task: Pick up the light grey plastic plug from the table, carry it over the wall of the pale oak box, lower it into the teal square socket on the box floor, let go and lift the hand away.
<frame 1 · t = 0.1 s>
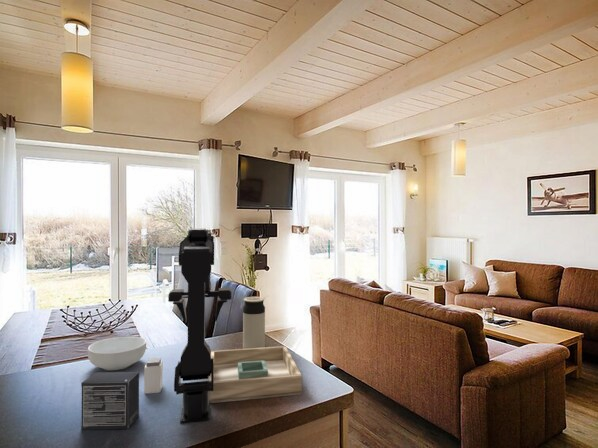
hand: (200, 322, 114), 15 cm above the kitchen counter, fingers open, 9 cm apart
small box: (111, 423, 83), on the kitchen counter
cereal bowl: (117, 366, 116), on the kitchen counter
travel mug: (253, 348, 133), on the kitchen counter
grey plug: (153, 389, 99), on the kitchen counter
walled box: (252, 379, 106), on the kitchen counter
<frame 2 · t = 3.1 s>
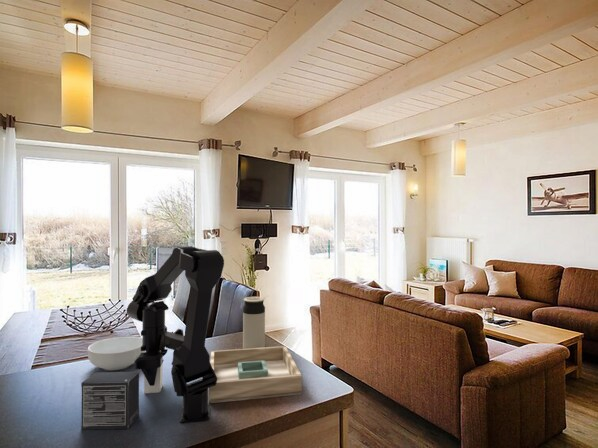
hand: (153, 382, 99), 2 cm above the kitchen counter, fingers closed on grey plug, 4 cm apart
grey plug: (153, 389, 99), on the kitchen counter, touching gripper
everything else where it was.
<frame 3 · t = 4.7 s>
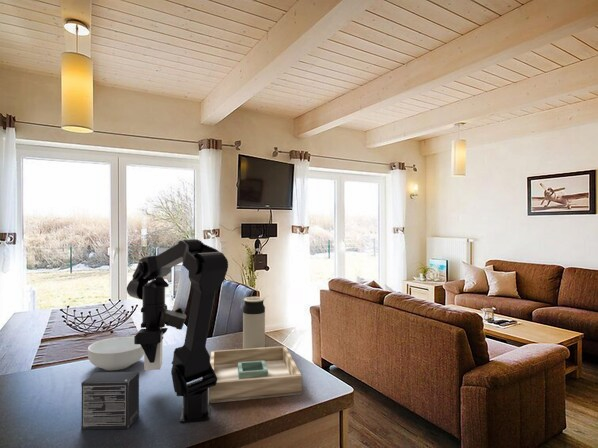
hand: (153, 359, 99), 8 cm above the kitchen counter, fingers closed on grey plug, 4 cm apart
grey plug: (153, 367, 99), point 6 cm above the kitchen counter, touching gripper
everything else where it was.
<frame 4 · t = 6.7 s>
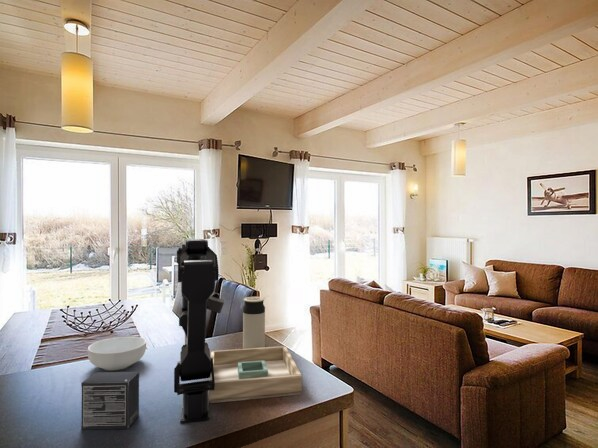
hand: (192, 342, 102), 12 cm above the kitchen counter, fingers closed on grey plug, 4 cm apart
grey plug: (192, 350, 102), point 10 cm above the kitchen counter, touching gripper
everything else where it was.
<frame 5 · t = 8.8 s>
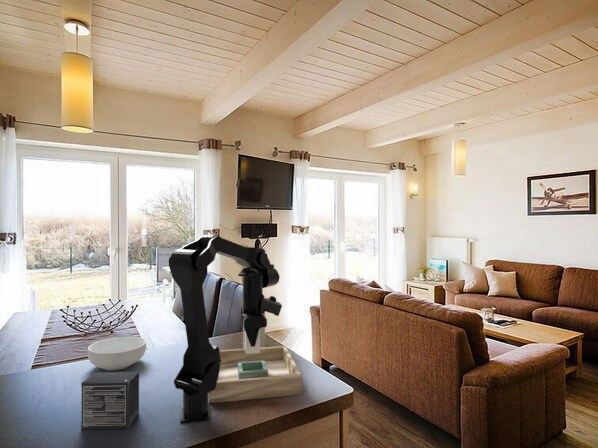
hand: (252, 344, 106), 10 cm above the kitchen counter, fingers closed on grey plug, 4 cm apart
grey plug: (252, 351, 106), point 8 cm above the kitchen counter, touching gripper
everything else where it was.
when the fingers open (5 cm above the kitchen counter, at t = 10.6 s): grey plug drops 2 cm, resting on walled box.
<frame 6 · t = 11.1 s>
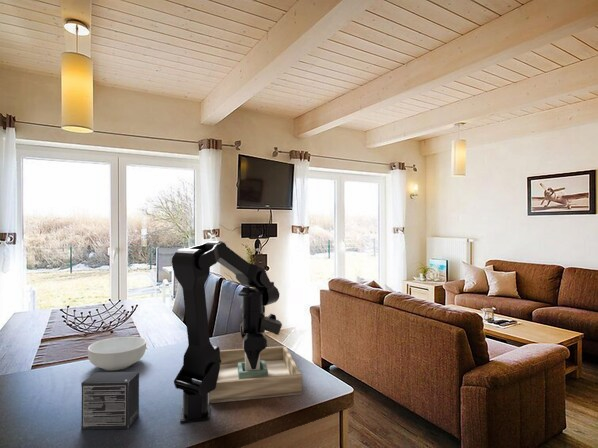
hand: (252, 362, 106), 5 cm above the kitchen counter, fingers open, 9 cm apart
grey plug: (252, 376, 106), point 1 cm above the kitchen counter, touching walled box
everything else where it was.
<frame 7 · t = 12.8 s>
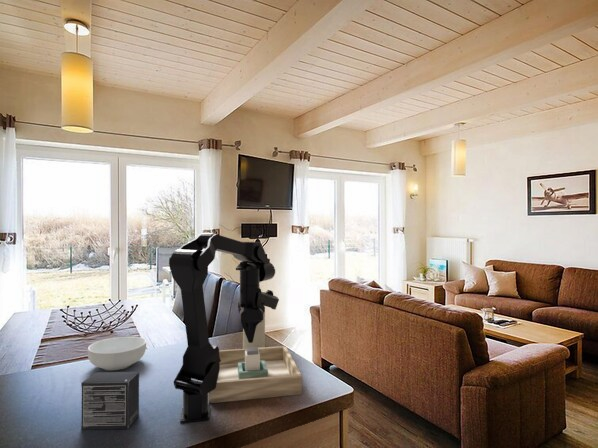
hand: (249, 337, 107), 12 cm above the kitchen counter, fingers open, 9 cm apart
nothing on the kitchen counter moved.
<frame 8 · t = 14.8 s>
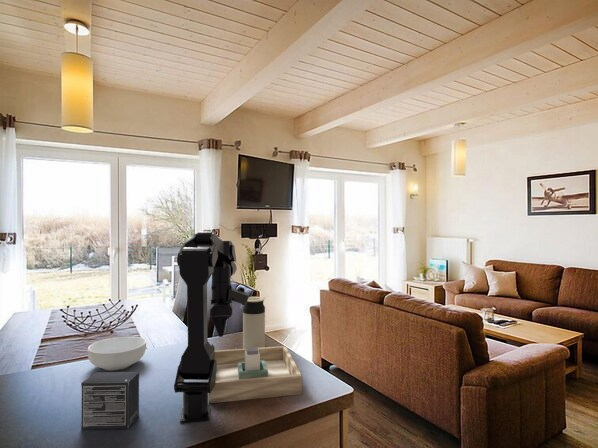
hand: (220, 332, 112), 12 cm above the kitchen counter, fingers open, 9 cm apart
nothing on the kitchen counter moved.
at the end: grey plug 0.1 cm off-centre on the walled box, point 0.8 cm above the walled box's base; grey plug tilted 0°; the gripper is holding nothing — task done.
